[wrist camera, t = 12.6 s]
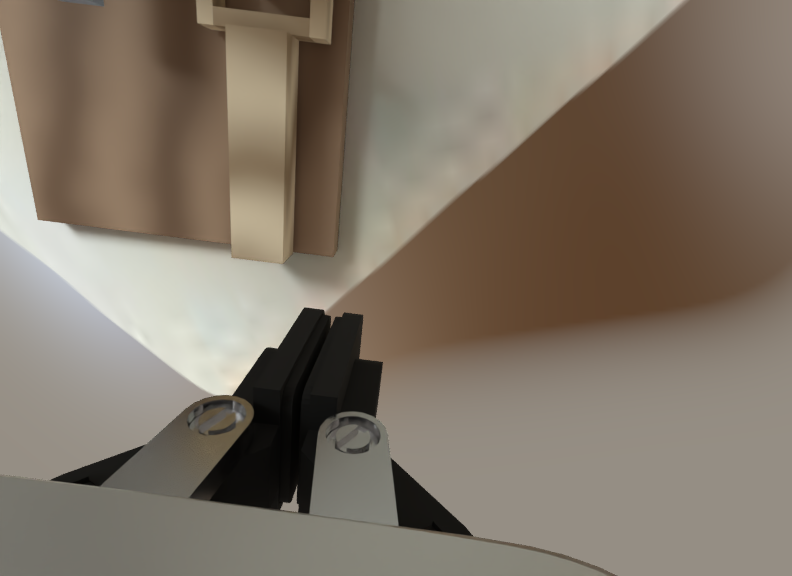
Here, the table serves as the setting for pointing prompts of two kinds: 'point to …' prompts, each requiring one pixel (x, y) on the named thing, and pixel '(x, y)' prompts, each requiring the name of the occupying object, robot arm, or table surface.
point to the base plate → (162, 116)
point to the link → (263, 120)
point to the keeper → (87, 2)
